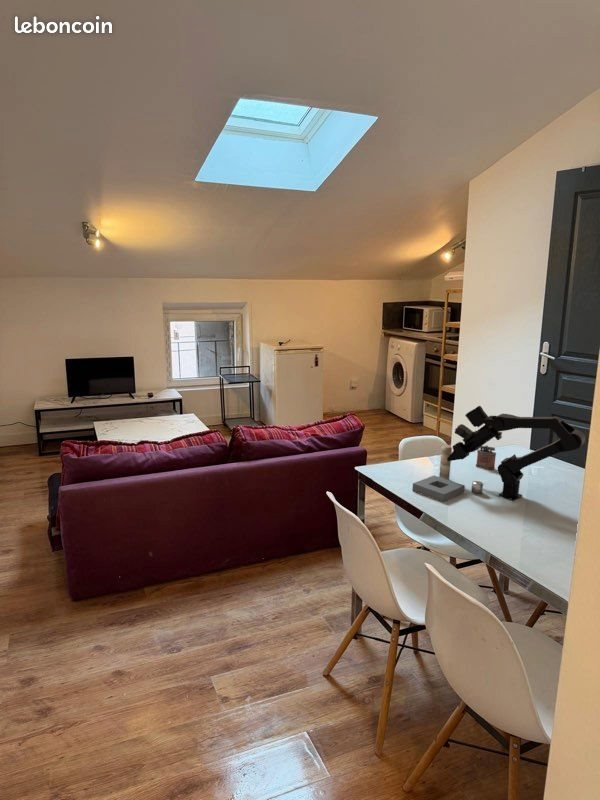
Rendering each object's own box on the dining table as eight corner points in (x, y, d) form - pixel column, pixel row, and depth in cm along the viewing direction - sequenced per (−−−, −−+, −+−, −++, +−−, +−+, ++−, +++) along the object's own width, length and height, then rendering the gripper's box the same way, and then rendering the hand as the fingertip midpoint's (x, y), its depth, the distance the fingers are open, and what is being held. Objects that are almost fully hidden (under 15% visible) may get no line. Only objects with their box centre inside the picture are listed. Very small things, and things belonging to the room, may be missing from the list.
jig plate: (433, 482, 213) (434, 475, 212) (464, 492, 203) (464, 485, 202) (412, 490, 204) (412, 483, 203) (443, 501, 194) (443, 494, 193)
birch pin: (442, 477, 219) (445, 445, 216) (451, 480, 216) (453, 447, 213) (437, 479, 216) (439, 446, 213) (445, 482, 213) (448, 449, 210)
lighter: (474, 467, 232) (476, 445, 230) (477, 464, 235) (479, 443, 233) (493, 470, 228) (495, 448, 226) (495, 468, 231) (497, 446, 228)
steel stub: (474, 489, 206) (475, 480, 205) (484, 492, 203) (485, 483, 202) (469, 492, 203) (470, 482, 202) (478, 495, 200) (479, 485, 200)
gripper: (477, 415, 213) (448, 436, 222) (459, 424, 198) (430, 446, 207) (494, 437, 210) (465, 457, 219) (478, 448, 195) (447, 469, 204)
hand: (452, 457), depth 212 cm, fingers open, 9 cm apart
